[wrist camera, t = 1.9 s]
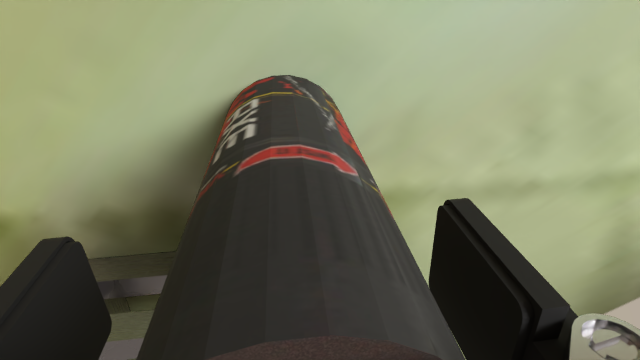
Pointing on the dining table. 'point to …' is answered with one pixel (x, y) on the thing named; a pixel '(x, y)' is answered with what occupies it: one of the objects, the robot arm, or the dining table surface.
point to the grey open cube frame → (126, 281)
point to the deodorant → (293, 248)
